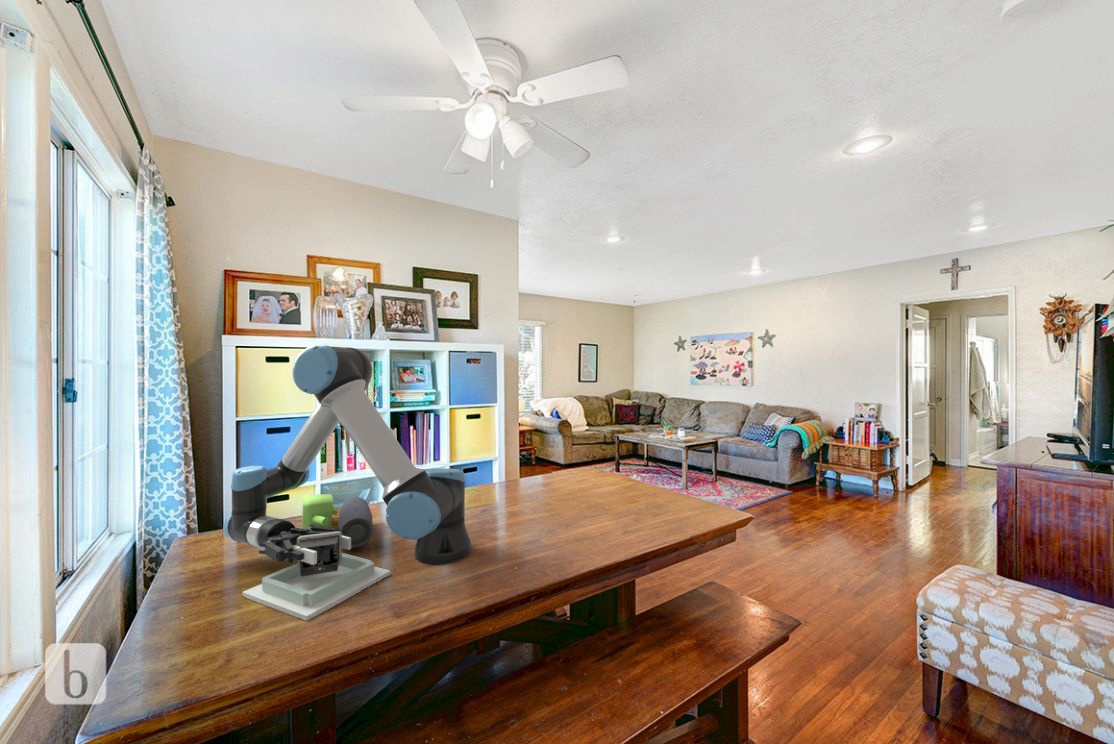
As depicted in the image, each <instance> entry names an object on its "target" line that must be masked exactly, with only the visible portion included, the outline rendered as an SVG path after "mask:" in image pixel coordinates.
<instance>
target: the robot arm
mask: <svg viewBox="0 0 1114 744" xmlns="http://www.w3.org/2000/svg"><path fill="white" fill-rule="evenodd" d="M372 376H373V365H372V362H371V360H370V358H369V357H368V355H367V354H366V353H364V352H363V351H362V350H360V349H358V348H355V347H348V346H347V347H345V346H344V347H343V346H331V345H330V346H329V345H327V344H322V345H321V344H320V345H311V346H309V347H307V348H305V349H303V350H302V351H301V352H300V353H298V355H297V357H296V358H295V360H294V362H293V367H292V379H293V382H294V384H295V386H296V387H297V388H298V389H299V390H300V391H301V392H302V393H306V394H309V395H314V397H315V399H316V400H317V401H318V403H317V405H316V407H315V408H314V409H313V411H312V413H310V415H309V417H308V419H307V420H306V421H305V422H304V424H303V426H302V428H300V430H299V432H298V434H297V436H296V437H295V439H294V440H293V441H292V443H291V444H290V445H289V447H288V449H287V450H286V452H285V454H284V455H283V457H282V458H281V460H280V461H279V462H278V464H277V465H276V466H275V467H273V468H272V467H271V468H268V469H267V467H265V466H263V465H249V466H242V467H239V468H237V469H235V470H234V471H232V477H231V485H230V489H231V514H229V515H228V516H227V518H226V519H225V521H224V523H223V525H222V527H223V528H222V529H223V533H224V535H225V536H226V537H228V538H229V539H231V540H232V541H235V542H237V543H244V544H247V545H249V546H254V547H256V548H258V554H261V555H266V556H267V557H269V558H270V559H272V560H274V561H275V562H277V563H283V562H285V560H286V559H287V563H288V564H292V563H294V562H295V561H297V562H298V561H303V562H306V563H309V564H312V565H315V564H317V551H313V550H310V549H306V548H300V547H299V546H298V545H297V539H298V537H300V536H304V535H312V534H320V533H328V532H336V531H340V529H339V528H336V527H332V528H328V527H320V526H316V525H309V528H308V529H302V527H301V528H299V527H296V526H295V525H294V523H293V522H291V521H289V520H286V519H282V518H278V517H275V516H270V515H267V508H268V507H267V504H268V503H267V500H268V499H269V498H272V497H275V496H277V495H280V494H283V493H285V492H288V491H291V490H295V489H297V488H299V487H300V486H302V485H304V484H306V483H307V481H308V479H309V477H310V470H309V468H310V466H311V465H312V463H313V462H314V460H315V459H316V458H317V456H318V455H319V453H320V451H321V450H322V449H323V447H324V445H325V444H326V443H327V441H328V440H329V438H330V437H331V435H332V434H333V432H334V431H335V429H336V428H337V427H338V425H339V423H341V425H342V427H343V429H344V430H345V432H346V433H347V435H348V436H349V437H350V439H351V440H352V442H353V444H354V445H355V446H356V447H357V448H356V449H358V451H359V453H360V454H361V456H362V457H363V459H364V461H365V462H366V463H367V465H368V466H369V467H370V470H372V472H373V474H374V475H375V477H376V478H377V479H378V481H379V483H380V484H381V486H382V488H383V492H382V496H381V498H382V500H383V502H384V503H385V505H386V508H385V521H386V525H387V526H388V528H389V529H390V530H391V532H393V533H394V534H395V535H396V536H398V537H400V538H401V539H405V540H411V541H412V540H416V543H415V545H414V558H415V559H416V560H417V561H419V562H421V563H424V564H430V565H441V564H442V565H443V564H449V563H453V562H458V561H459V560H460V561H461V560H462V559H464V558H465V557H467V556H468V555H470V553H471V551H472V542H471V538H470V537H469V532H468V529H467V526H466V522H465V515H466V514H465V511H466V510H465V505H466V503H465V501H466V500H465V499H466V497H465V495H466V494H465V493H466V492H465V491H466V489H465V488H466V487H465V484H466V480H465V472H464V471H463V470H461V469H457V468H429V469H423V468H418V467H415V465H414V463H413V461H412V460H411V459H410V458H409V456H408V454H407V453H406V451H405V450H404V449H403V447H402V445H401V444H400V443H399V442H400V441H398V440H397V437H396V436H395V435H394V433H393V432H392V431H391V429H390V428H389V425H387V422H385V420H384V419H383V417H382V416H381V414H380V412H379V411H378V409H377V408H376V406H375V405H374V403H373V402H372V400H371V399H370V397H369V396H368V394H367V393H366V390H367V388H368V387H369V385H370V383H371V380H372ZM294 546H295V547H294ZM341 548H342V550H343V549H344V550H348V551H349V550H351V549H352V547H351V537H347V536H343V535H342V545H341ZM294 560H295V561H294Z"/></svg>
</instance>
